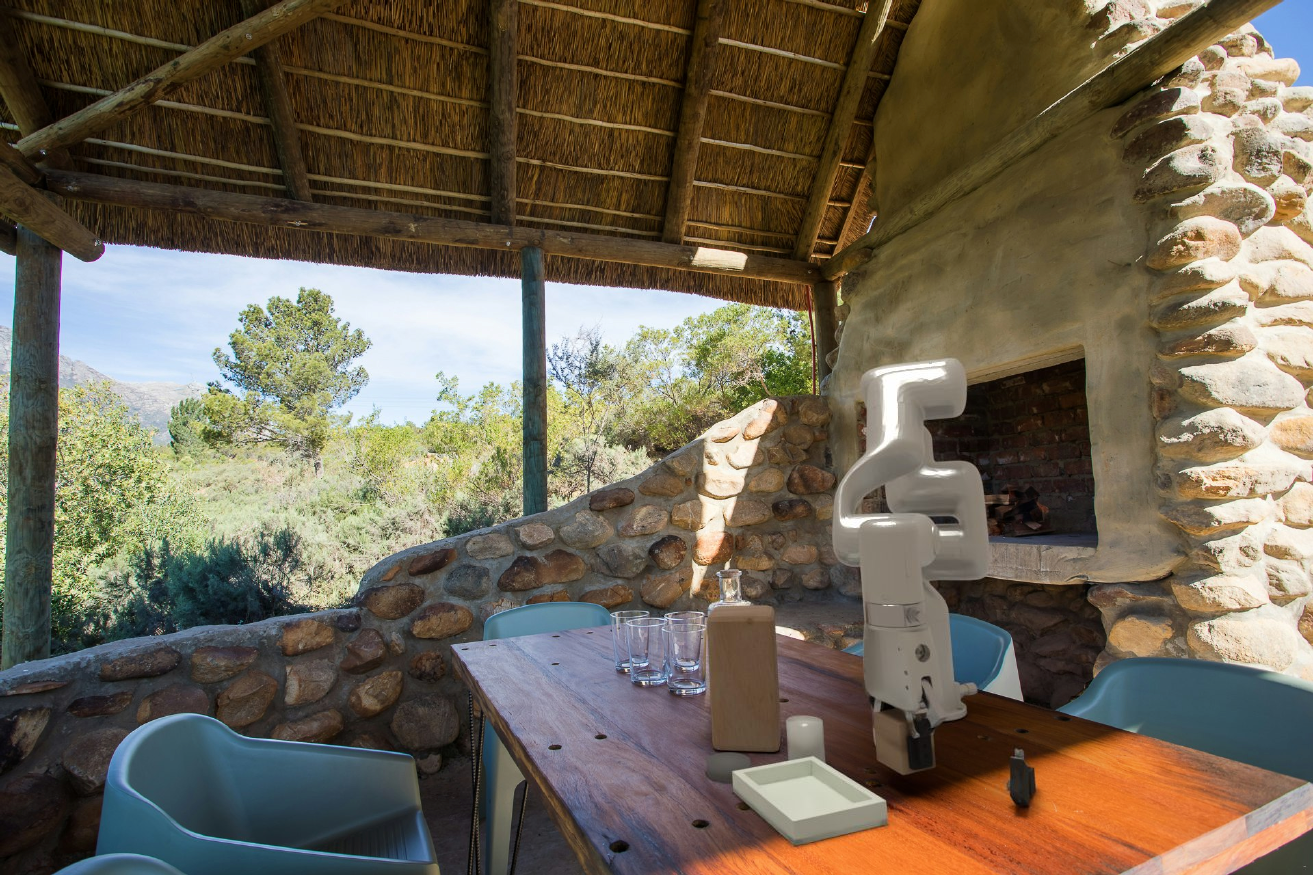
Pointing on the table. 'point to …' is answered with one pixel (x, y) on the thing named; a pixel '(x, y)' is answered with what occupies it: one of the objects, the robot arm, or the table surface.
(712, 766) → the gray rounded object
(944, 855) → the table surface
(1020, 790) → the lighter
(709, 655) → the wooden block
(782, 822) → the tray
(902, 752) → the walnut block
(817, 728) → the white rounded cylinder
